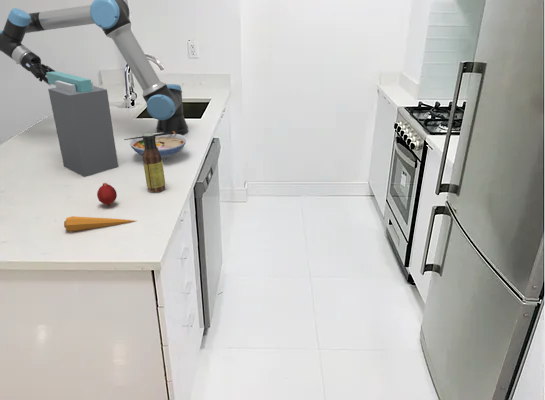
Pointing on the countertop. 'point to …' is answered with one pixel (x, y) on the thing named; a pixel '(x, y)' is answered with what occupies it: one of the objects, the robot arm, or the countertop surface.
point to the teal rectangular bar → (70, 81)
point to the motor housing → (84, 128)
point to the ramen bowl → (161, 143)
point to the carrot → (91, 223)
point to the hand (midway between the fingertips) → (67, 89)
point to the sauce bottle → (153, 164)
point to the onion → (106, 194)
